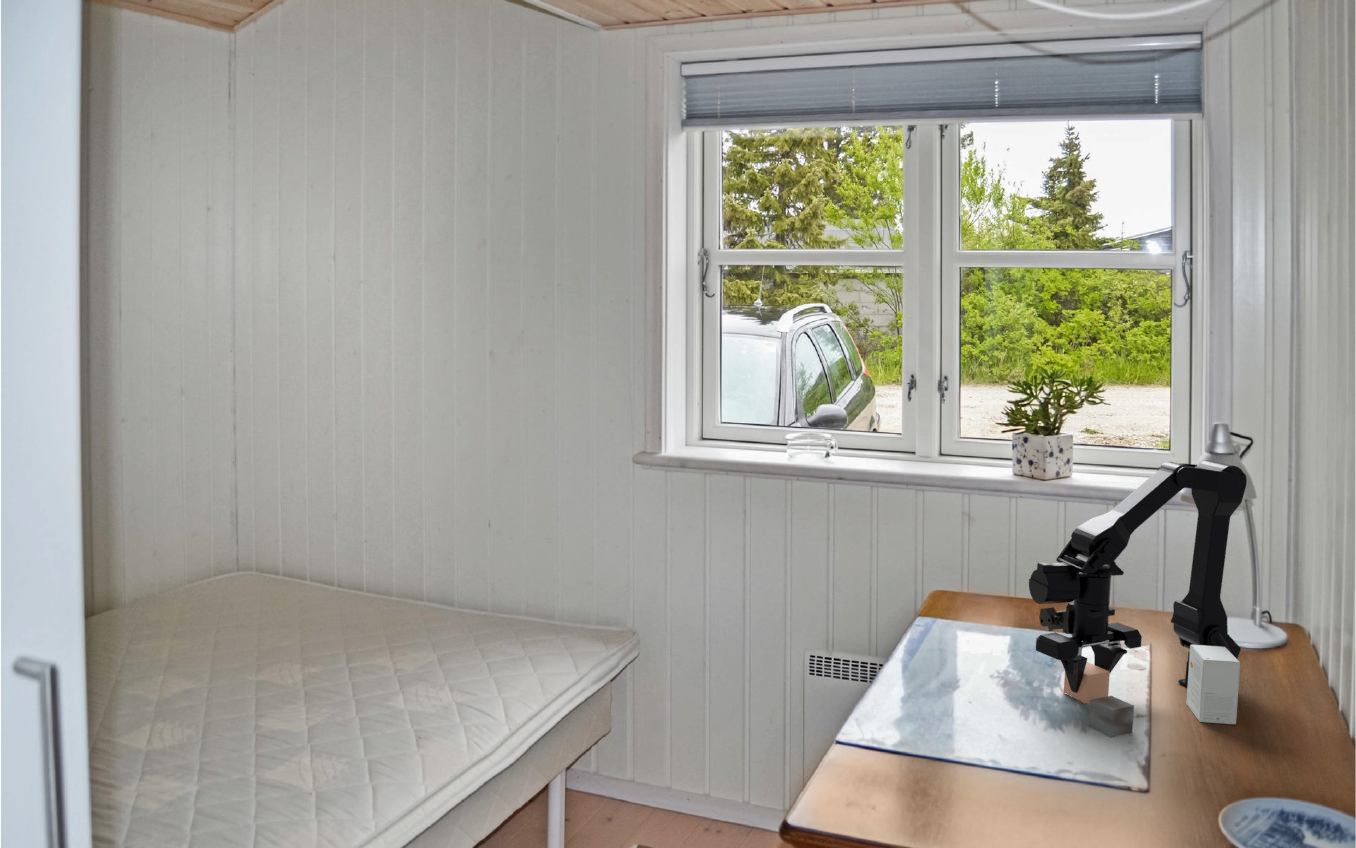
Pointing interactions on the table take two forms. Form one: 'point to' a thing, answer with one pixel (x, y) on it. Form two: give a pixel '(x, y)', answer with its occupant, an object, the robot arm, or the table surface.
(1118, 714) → the charcoal block
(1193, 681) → the small box
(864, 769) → the table surface
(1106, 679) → the terracotta block
